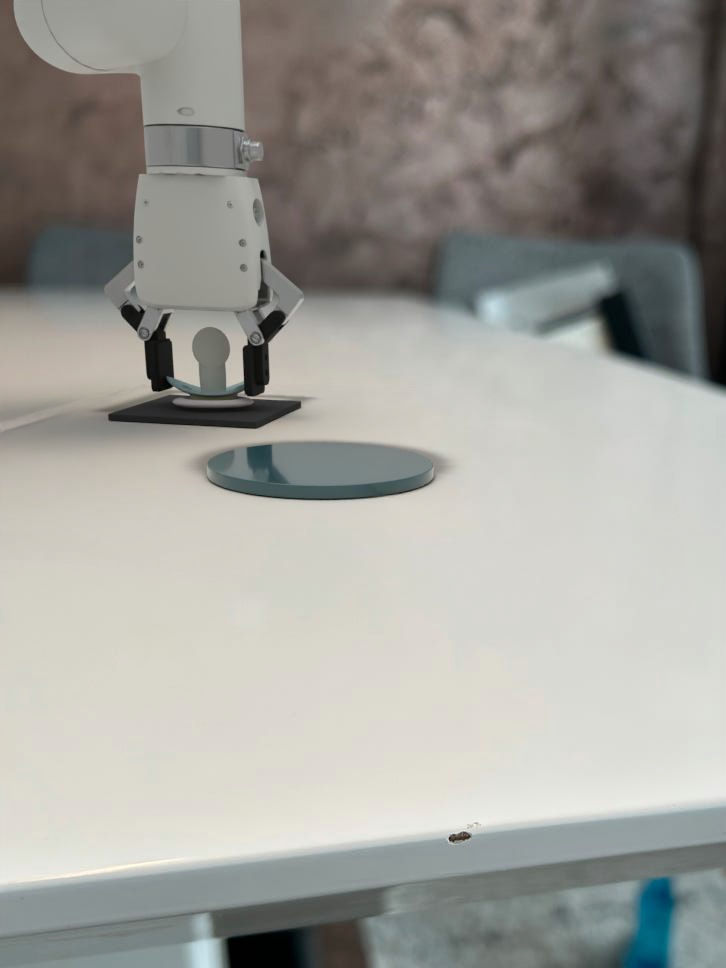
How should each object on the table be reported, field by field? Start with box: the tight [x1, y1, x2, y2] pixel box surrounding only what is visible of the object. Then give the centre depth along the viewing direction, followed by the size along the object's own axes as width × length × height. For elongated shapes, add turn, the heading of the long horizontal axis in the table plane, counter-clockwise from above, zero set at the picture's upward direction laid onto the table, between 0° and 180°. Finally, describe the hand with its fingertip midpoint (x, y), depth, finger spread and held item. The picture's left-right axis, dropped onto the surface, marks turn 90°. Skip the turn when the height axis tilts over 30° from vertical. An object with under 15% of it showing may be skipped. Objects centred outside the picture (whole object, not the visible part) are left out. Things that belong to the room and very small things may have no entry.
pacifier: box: [167, 326, 254, 408], centre depth 90 cm, size 7×6×6 cm
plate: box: [206, 441, 435, 500], centre depth 69 cm, size 14×14×1 cm
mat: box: [107, 394, 302, 429], centre depth 91 cm, size 12×12×1 cm
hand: (208, 390), depth 91 cm, fingers closed on pacifier, 7 cm apart
